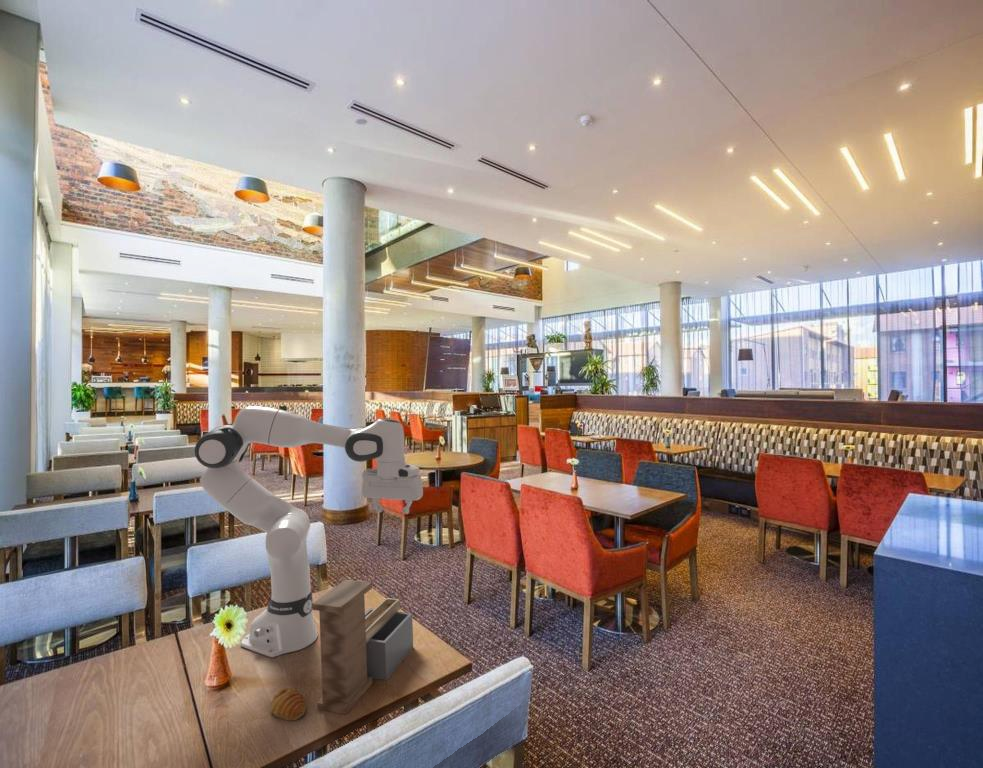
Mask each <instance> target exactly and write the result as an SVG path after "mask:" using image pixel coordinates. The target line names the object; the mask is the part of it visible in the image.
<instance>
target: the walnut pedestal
mask: <svg viewBox="0 0 983 768" xmlns="http://www.w3.org/2000/svg"><path fill="white" fill-rule="evenodd" d="M372 589H373V583H372V582H371V581H361V580H352V579H344V580H343V581H342V582H340V583H339V584H338V585H336V586H335V587H333V588H331V590H329V591H328V592H326V593H325V594H323V595H322V596H321V597H319V598H318V599H317V600H315V601H314V602H313V603H312V611H317V612H318V611H319V612H318V613H319V615H318V616H319V637H320V640H319V641H320V661H321V667H320V668H321V693H322V697H321V698H320V699H318V700H317V702H316V707H317V710H320V711H321V710H322V711H328V712H332V713H336V714H340V715H341V714H342V715H347V714H348V713H349V712H350V710H351V709H352V708H353V707H354V706H355V704H356V703H357V702H358V701H359V700H360V699H361V697H362V696H363V695H364V694H365V692H366V691H368V689H369V688H370V686H372V684H373V678H372V677H367V656H366V628H365V613H366V609H365V608H366V607H365V605H366V603H365V600H366V599H365V595H366V594H367V593H368V592H369V591H370V590H372ZM347 712H348V713H347Z"/></svg>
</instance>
